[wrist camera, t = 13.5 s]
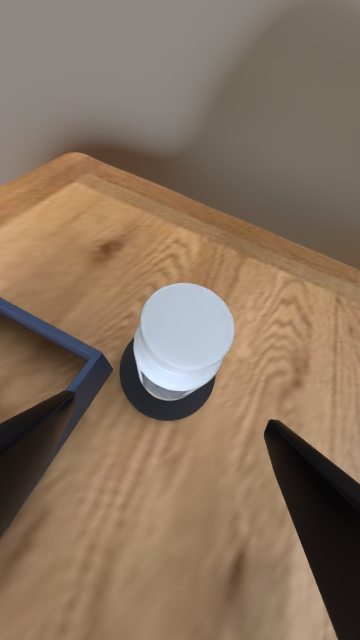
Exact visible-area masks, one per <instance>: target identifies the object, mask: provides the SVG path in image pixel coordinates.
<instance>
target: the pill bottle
mask: <svg viewBox="0 0 360 640" xmlns="http://www.w3.org/2000/svg"><path fill="white" fill-rule="evenodd" d="M233 339H234V321H233V317H232V315H231V312H230V310H229V309H228V307H227V306H226V304H225V303H224V301H223V300H222V299H221V298H220V297H219V296H217V295H216V294H215V293H214V292H212V291H210V290H209V289H206V288H204V287H202V286H199V285H195V284H190V283H176V284H171V285H168V286H165V287H163V288H161V289H159V290H157V291H156V292H155V293H153V294H152V295H151V296H150V298H149V299H148V300H147V301H146V303H145V305H144V307H143V309H142V312H141V317H140V324H139V326H138V328H137V331H136V334H135V337H134V355H135V361H136V364H137V369H138V374H139V377H140V380H141V382H142V384H143V386H144V387H145V389H146V390H147V391H148V392H149V393H150V394H151V395H153V396H154V397H156V398H158V399H162V400H167V401H172V400H178V399H181V398H183V397H185V396H187V395H189V394H190V393H192V392H193V391H195V390H196V389H198V388H200V387H201V386H203V385H204V384H206V383H207V382H208V381H210V380H211V379H212V378H213V377H214V375H215V374H216V372H217V371H218V369H219V367H220V365H221V363H222V360H223V357H224V356H225V355H226V353H227V352H228V351H229V349H230V347H231V345H232V342H233Z"/></svg>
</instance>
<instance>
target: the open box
mask: <svg viewBox="0 0 360 640" xmlns="http://www.w3.org/2000/svg"><path fill="white" fill-rule="evenodd" d="M0 314H2V315H4V316H6V317H7V318H9V319H11V320H13V321H15V322H17V323H18V324H20V325H22V326H24V327H26V328H27V329H29V330H31V331H33V332H35V333H37V334H38V335H40V336H42V337H44V338H46V339H48V340H49V341H51V342H53V343H55V344H57V345H58V346H60V347H62V348H64V349H66V350H68V351H69V352H71V353H73V354H75V355H77V356H78V357H80V358H82V359H84V360H86V361H88V362H87V363H86V364H85V366H84V367H83V368H82V370H81V371H80V372H79V374H78V375H77V376H76V378H75V379H74V380H73V382H72V383H71V384H70V386H69V387H68V388H67V389H66V390H69V391H74V392H75V393H76V398H75V409H74V412H73V414H72V416H71V418H70V420H69V422H68V424H67V426H66V428H65V430H64V432H63V434H62V436H61V438H60V440H59V442H58V444H57V446H56V448H55V450H54V451H53V453H52V455H51V456H50V458H49V460H48V461H47V463H46V464H45V466H44V468H43V469H42V471H41V472H40V474H39V476H38V477H37V479H36V480H35V482H34V484H33V485H32V487H31V488H30V490H29V492H28V493H27V495H26V496H25V498H24V500H23V501H22V503H21V504H20V506H19V508H18V509H17V511H16V512H15V514H14V516H13V517H12V519H11V520H10V522H9V524H10V523H11V521H12V520H13V518H14V517H15V515H16V514H17V512H18V511H19V509H20V508H21V506H22V505H23V503H24V502H25V500H26V499H27V497H28V496H29V494H30V493H31V491H32V490H33V488H34V487H35V485H36V484H37V482H38V481H39V479H40V478H41V477H42V475H43V474H44V472H45V471H46V469H47V468H48V466H49V465H50V463H51V462H52V460H53V459H54V457H55V456H56V454H57V453H58V451H59V450H60V448H61V447H62V445H63V444H64V442H65V441H66V439H67V438H68V436H69V435H70V433H71V432H72V430H73V429H74V427H75V426H76V424H77V423H78V421H79V420H80V418H81V417H82V415H83V414H84V412H85V411H86V409H87V408H88V406H89V405H90V403H91V402H92V400H93V399H94V397H95V396H96V394H97V393H98V391H99V390H100V388H101V387H102V385H103V384H104V382H105V381H106V379H107V378H108V376H109V375H110V373H111V372H112V370H113V368H112V367H111V365H110V364H109V362H108V361H107V359H106V358H105V356H104V355H103V353H102V352H100V351H98V350H96V349H94V348H92V347H91V346H89V345H87V344H85V343H83V342H81V341H80V340H78V339H76V338H74V337H72V336H70V335H68V334H67V333H65V332H63V331H61V330H59V329H57V328H55V327H54V326H52V325H50V324H48V323H46V322H44V321H43V320H41V319H39V318H37V317H35V316H33V315H31V314H30V313H28V312H26V311H24V310H22V309H20V308H19V307H17V306H15V305H13V304H11V303H9V302H7V301H6V300H4V299H2V298H0ZM9 524H8V525H7V527H8V526H9ZM7 527H6V528H5V530H6V529H7ZM5 530H4V532H5ZM4 532H3V533H4ZM3 533H2V535H3ZM2 535H1V536H2ZM1 536H0V538H1Z"/></svg>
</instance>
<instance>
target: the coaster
mask: <svg viewBox="0 0 360 640" xmlns="http://www.w3.org/2000/svg"><path fill="white" fill-rule="evenodd" d="M120 379H121V384H122V387H123V390H124V392H125V395H126V396H127V398H128V399H129V401H130V402H131V403H132V405H133V406H134V407H135V408H137V409H138V410H139V411H140V412H142V413H143V414H145V415H147V416H149V417H151V418H154V419H158V420H178V419H181V418H185V417H187V416H189V415H191V414H193V413H194V412H196V411H197V410H198V409H199V408H200V407H202V406H203V404H204V403H205V402H206V401H207V399H208V398H209V396H210V394H211V392H212V389H213V386H214V382H215V375H214V377H213V378H212V379H211V380H210V381H208V382H207V383H206V384H204V385H203V386H201V387H200V388H198V389H196V390H195V391H193V392H192V393H190V394H189V395H187V396H185V397H183V398H181V399H178V400H172V401H167V400H162V399H158V398H156V397H154V396H153V395H151V394H150V393H149V392H148V391H147V390H146V389H145V387H144V386H143V384H142V382H141V380H140V377H139V374H138V369H137V364H136V361H135V355H134V338H133V339H132V340H131V342H130V343H129V344H128V346H127V348H126V349H125V351H124V354H123V356H122V360H121V365H120Z"/></svg>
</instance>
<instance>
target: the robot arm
mask: <svg viewBox="0 0 360 640" xmlns="http://www.w3.org/2000/svg"><path fill="white" fill-rule="evenodd" d="M75 398H76V393H75V392H74V391H69V390H65V391H63V392H61V393H59V394H57V395H55V396H53V397H51V398H49V399H47V400H45V401H43V402H41V403H39V404H37V405H36V406H34V407H32V408H30V409H28V410H26V411H24V412H22V413H20V414H18V415H16V416H14V417H12V418H11V419H9V420H7V421H5V422H3V423H1V424H0V536H1V535H2V533H3V532H4V530H5V528H6V527H7V525H8V524H9V522H10V520H11V519H12V517H13V516H14V514H15V512H16V511H17V509H18V508H19V506H20V504H21V503H22V501H23V500H24V498H25V496H26V495H27V493H28V492H29V490H30V488H31V487H32V485H33V484H34V482H35V480H36V479H37V477H38V476H39V474H40V472H41V471H42V469H43V468H44V466H45V464H46V463H47V461H48V460H49V458H50V456H51V455H52V453H53V451H54V450H55V448H56V446H57V444H58V442H59V440H60V438H61V436H62V434H63V432H64V430H65V428H66V426H67V424H68V422H69V420H70V418H71V416H72V414H73V412H74V409H75ZM264 439H265V442H266V446H267V449H268V453H269V456H270V460H271V463H272V467H273V470H274V473H275V476H276V479H277V481H278V484H279V487H280V489H281V492H282V495H283V497H284V500H285V502H286V505H287V508H288V510H289V513H290V515H291V518H292V521H293V523H294V526H295V528H296V531H297V534H298V536H299V539H300V542H301V544H302V547H303V549H304V552H305V555H306V557H307V560H308V562H309V565H310V568H311V570H312V573H313V576H314V578H315V581H316V583H317V586H318V589H319V591H320V594H321V596H322V599H323V602H324V604H325V607H326V609H327V612H328V615H329V617H330V620H331V623H332V625H333V628H334V630H335V633H336V636H337V638H338V640H360V484H359V483H358V482H356V481H355V480H354V479H353V478H351V477H350V476H349V475H348V474H346V473H345V472H344V471H343V470H341V469H340V468H339V467H337V466H336V465H335V464H334V463H332V462H331V461H330V460H329V459H327V458H326V457H325V456H324V455H322V454H321V453H320V452H318V451H317V450H316V449H315V448H313V447H312V446H311V445H310V444H308V443H307V442H306V441H305V440H303V439H302V438H301V437H300V436H298V435H297V434H296V433H294V432H293V431H292V430H291V429H289V428H288V427H287V426H286V425H284V424H283V423H282V422H281V421H279V420H273V419H270V420H269V422H268V424H267V426H266V429H265V431H264Z"/></svg>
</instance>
